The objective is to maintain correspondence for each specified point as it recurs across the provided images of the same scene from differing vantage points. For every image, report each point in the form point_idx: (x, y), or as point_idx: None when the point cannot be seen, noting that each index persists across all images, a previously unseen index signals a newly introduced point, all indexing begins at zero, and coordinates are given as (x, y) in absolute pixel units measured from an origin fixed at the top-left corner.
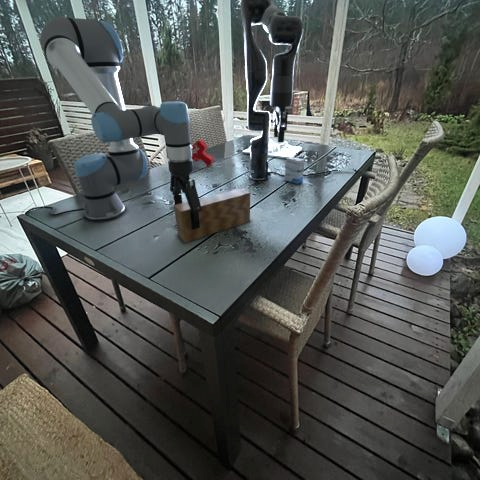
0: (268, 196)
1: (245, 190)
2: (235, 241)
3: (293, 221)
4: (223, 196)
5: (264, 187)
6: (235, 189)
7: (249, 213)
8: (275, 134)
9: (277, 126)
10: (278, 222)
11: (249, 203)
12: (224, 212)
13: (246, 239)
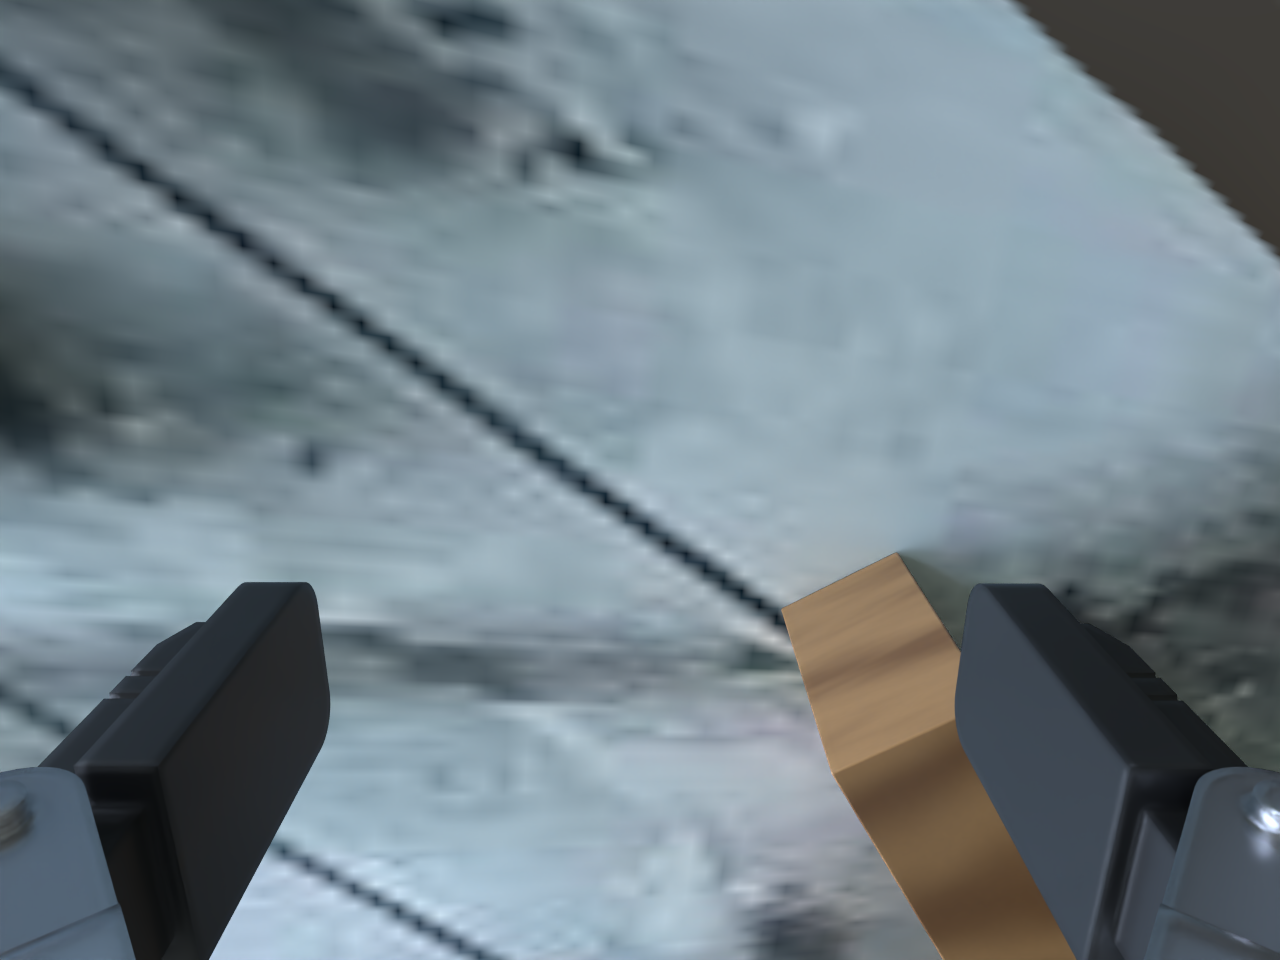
0: (358, 310)
1: (914, 741)
2: (1174, 671)
3: (971, 154)
4: (1025, 931)
5: (90, 317)
6: (867, 829)
7: (921, 591)
8: (294, 734)
9: (143, 882)
10: (962, 308)
11: (954, 643)
12: None
13: (1169, 598)
